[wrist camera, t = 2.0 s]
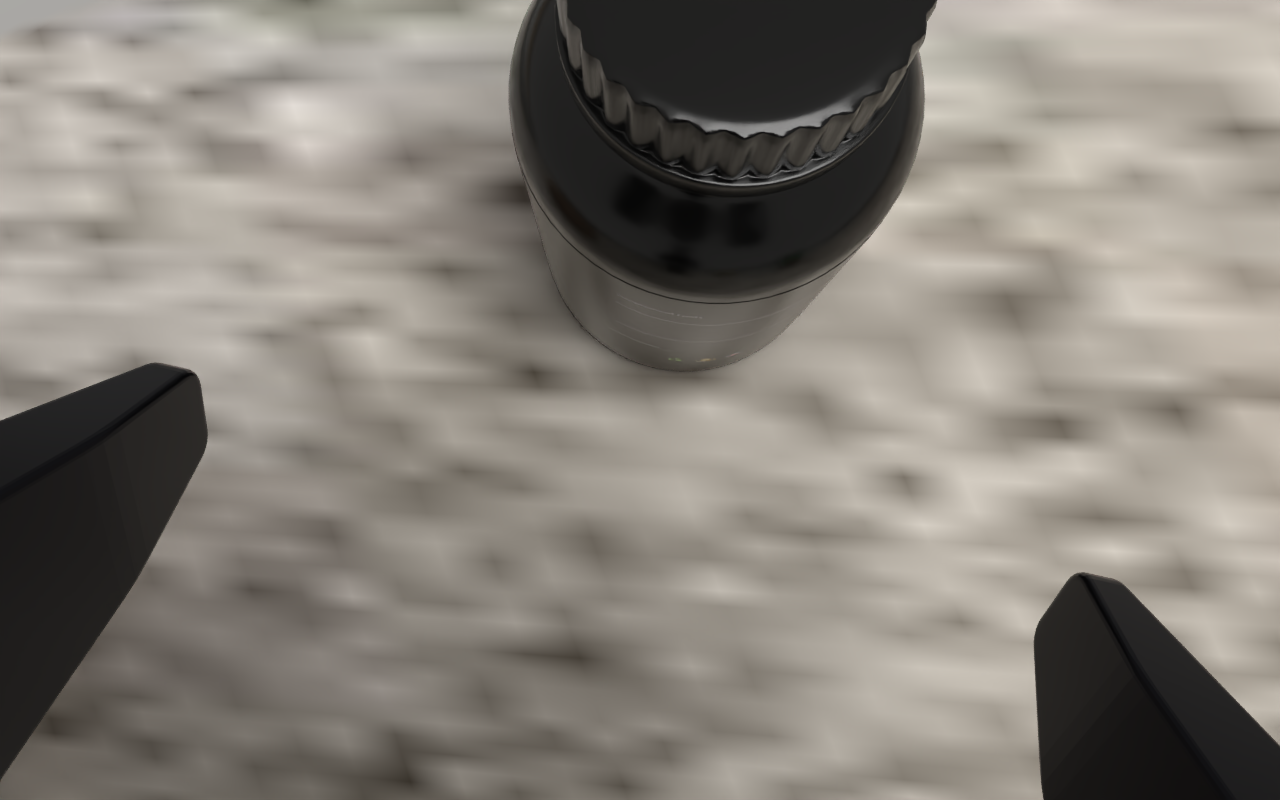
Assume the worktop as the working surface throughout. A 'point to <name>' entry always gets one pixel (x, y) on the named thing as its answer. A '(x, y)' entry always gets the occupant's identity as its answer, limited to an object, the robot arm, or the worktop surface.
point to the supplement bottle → (711, 158)
